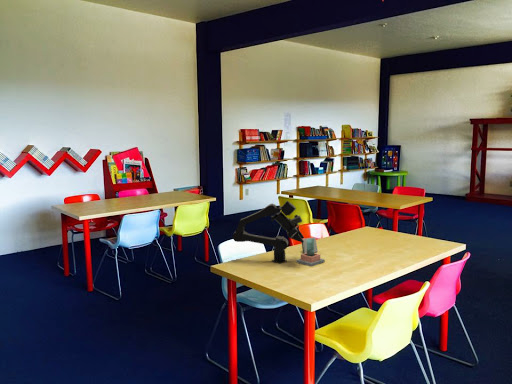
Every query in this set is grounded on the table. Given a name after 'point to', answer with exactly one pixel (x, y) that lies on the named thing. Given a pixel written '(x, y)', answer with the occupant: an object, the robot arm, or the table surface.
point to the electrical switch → (306, 245)
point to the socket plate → (310, 259)
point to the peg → (310, 247)
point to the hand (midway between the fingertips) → (303, 240)
